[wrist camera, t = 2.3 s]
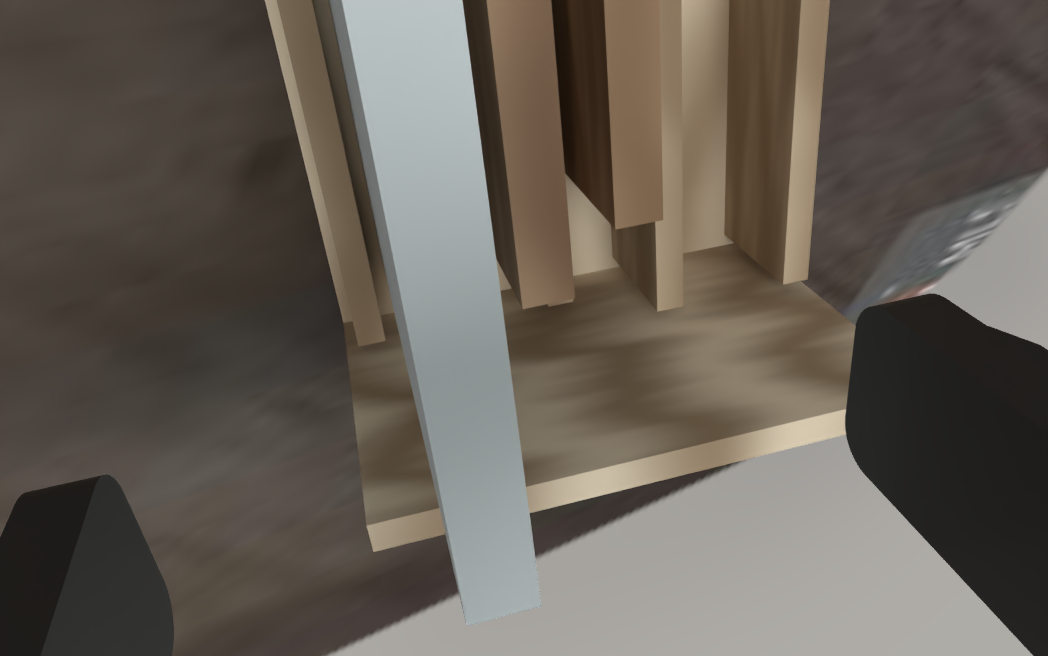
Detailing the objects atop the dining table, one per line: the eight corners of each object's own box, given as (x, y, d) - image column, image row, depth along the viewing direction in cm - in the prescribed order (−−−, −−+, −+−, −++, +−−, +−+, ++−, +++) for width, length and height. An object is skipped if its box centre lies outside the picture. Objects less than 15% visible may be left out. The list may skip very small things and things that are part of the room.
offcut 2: (555, 162, 32) (615, 229, 26) (529, -134, 27) (597, -133, 21) (594, 154, 32) (663, 220, 26) (577, -140, 27) (656, -141, 21)
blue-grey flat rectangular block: (384, 267, 32) (466, 626, 17) (282, -221, 24) (268, -366, 9) (424, 260, 33) (541, 606, 17) (337, -226, 25) (412, -376, 9)
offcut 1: (467, 203, 32) (522, 309, 24) (415, -157, 26) (467, -166, 18) (507, 195, 32) (575, 298, 25) (465, -162, 26) (537, -174, 19)
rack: (346, 326, 35) (373, 551, 23) (186, -334, 24) (89, -518, 12) (733, 247, 38) (927, 414, 26) (751, -378, 27) (1100, -563, 15)
